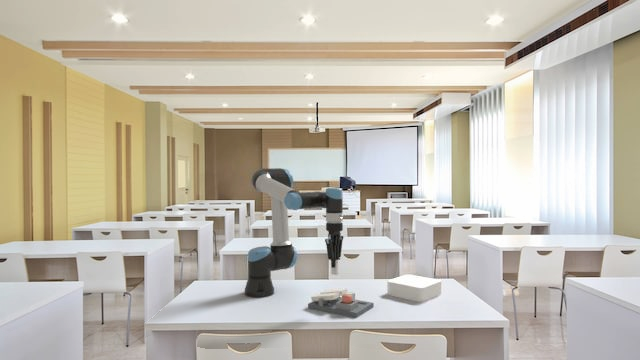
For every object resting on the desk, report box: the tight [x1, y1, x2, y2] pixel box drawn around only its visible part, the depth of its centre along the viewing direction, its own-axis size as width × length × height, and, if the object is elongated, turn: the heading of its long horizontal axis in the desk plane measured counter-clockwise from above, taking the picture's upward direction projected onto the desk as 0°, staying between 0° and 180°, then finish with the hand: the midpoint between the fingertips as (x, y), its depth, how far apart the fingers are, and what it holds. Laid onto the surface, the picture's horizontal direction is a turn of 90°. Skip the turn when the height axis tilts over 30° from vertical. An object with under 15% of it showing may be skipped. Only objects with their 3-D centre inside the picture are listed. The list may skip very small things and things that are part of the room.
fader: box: [348, 292, 356, 300], centre depth 198 cm, size 2×3×3 cm, turn 148°
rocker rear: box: [319, 288, 349, 297], centre depth 201 cm, size 12×5×2 cm, turn 58°
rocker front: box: [310, 293, 339, 302], centre depth 195 cm, size 12×5×2 cm, turn 58°
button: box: [341, 293, 352, 304], centre depth 189 cm, size 5×5×4 cm
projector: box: [386, 274, 442, 303], centre depth 218 cm, size 21×22×7 cm
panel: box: [307, 296, 375, 319], centre depth 195 cm, size 25×17×5 cm
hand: (334, 274), depth 192 cm, fingers closed
